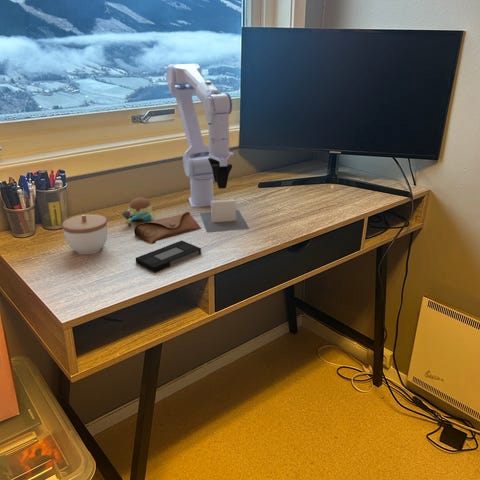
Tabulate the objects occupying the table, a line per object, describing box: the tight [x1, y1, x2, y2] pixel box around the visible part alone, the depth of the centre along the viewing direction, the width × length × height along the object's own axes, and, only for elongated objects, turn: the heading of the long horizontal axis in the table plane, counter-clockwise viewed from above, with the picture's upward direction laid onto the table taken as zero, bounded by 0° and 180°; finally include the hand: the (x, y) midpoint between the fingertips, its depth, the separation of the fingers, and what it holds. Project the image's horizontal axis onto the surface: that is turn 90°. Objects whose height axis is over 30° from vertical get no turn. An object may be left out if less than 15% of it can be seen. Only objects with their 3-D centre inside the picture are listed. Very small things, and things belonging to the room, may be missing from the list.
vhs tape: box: [135, 240, 202, 274], centre depth 117 cm, size 8×14×2 cm, turn 136°
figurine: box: [122, 196, 153, 227], centre depth 141 cm, size 7×10×7 cm
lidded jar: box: [61, 213, 108, 256], centre depth 121 cm, size 11×11×9 cm
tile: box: [210, 198, 237, 222], centre depth 138 cm, size 2×7×6 cm, turn 101°
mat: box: [199, 209, 250, 233], centre depth 140 cm, size 16×12×1 cm
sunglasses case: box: [134, 211, 202, 245], centre depth 133 cm, size 18×7×7 cm
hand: (220, 184), depth 140 cm, fingers open, 6 cm apart
